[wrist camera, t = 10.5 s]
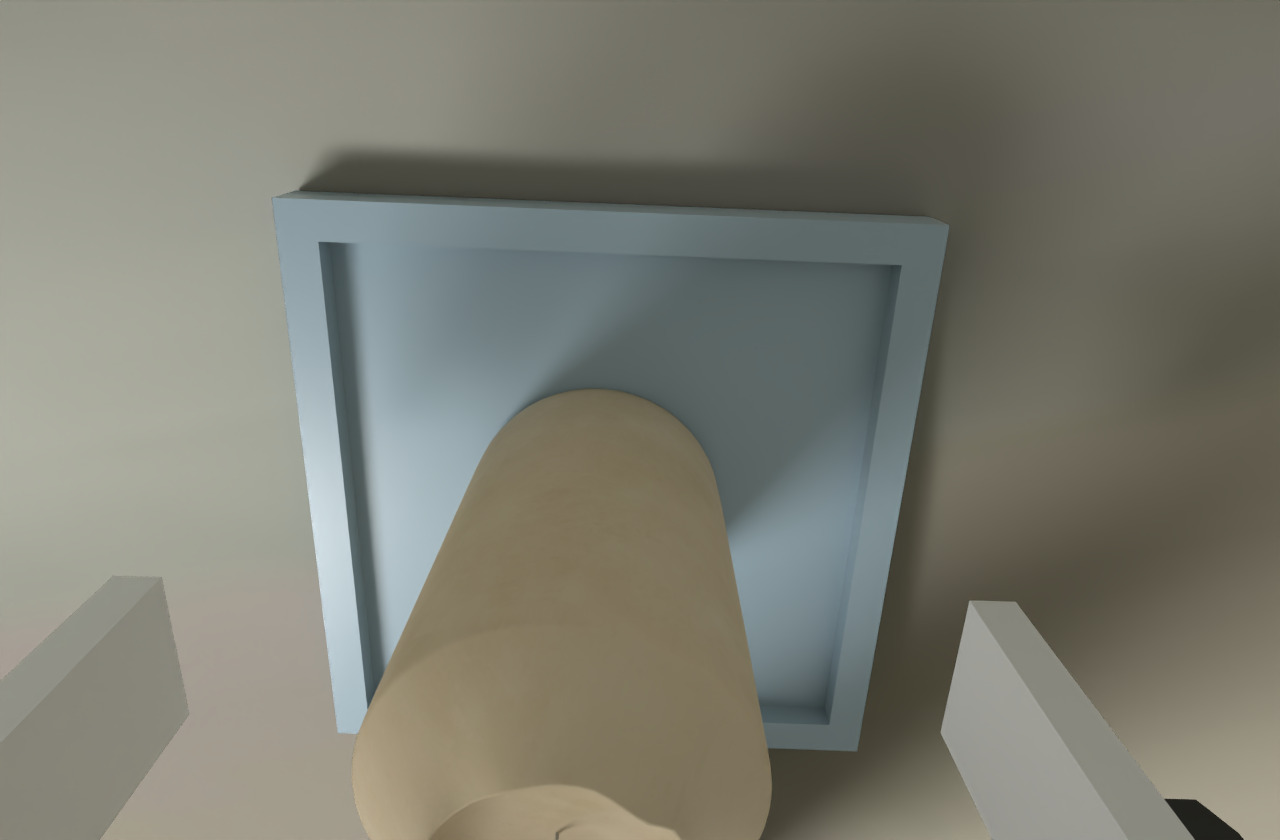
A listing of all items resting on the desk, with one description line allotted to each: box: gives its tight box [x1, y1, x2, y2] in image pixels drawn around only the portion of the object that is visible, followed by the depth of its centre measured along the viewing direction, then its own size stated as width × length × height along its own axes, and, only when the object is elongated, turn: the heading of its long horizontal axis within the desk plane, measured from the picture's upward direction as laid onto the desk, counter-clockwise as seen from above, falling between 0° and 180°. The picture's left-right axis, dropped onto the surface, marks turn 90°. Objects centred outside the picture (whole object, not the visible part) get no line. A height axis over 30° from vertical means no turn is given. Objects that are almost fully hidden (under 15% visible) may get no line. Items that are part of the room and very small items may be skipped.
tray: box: [272, 191, 950, 751], centre depth 19 cm, size 13×13×1 cm
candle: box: [352, 388, 772, 840], centre depth 14 cm, size 6×6×10 cm
